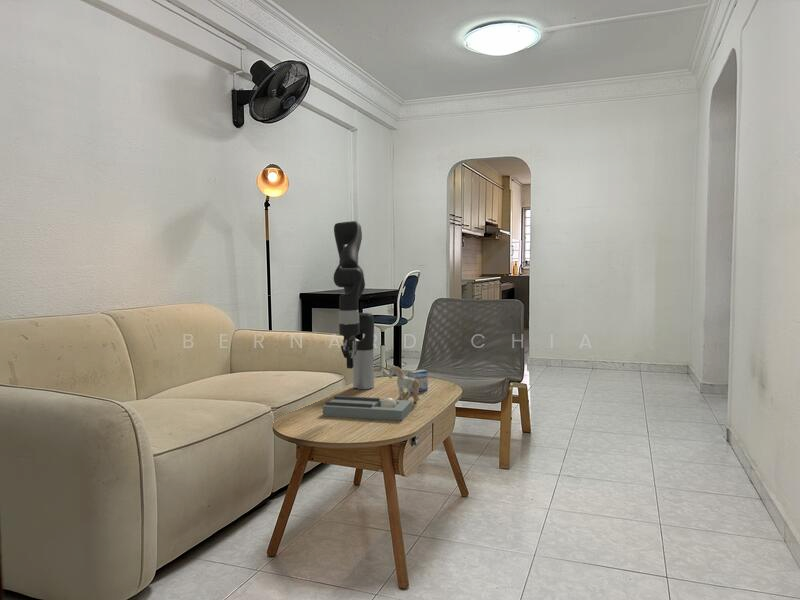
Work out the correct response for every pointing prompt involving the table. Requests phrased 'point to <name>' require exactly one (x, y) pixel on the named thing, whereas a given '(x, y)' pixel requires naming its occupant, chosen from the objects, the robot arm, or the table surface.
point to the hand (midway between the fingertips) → (350, 368)
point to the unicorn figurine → (404, 383)
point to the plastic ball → (388, 403)
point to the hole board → (365, 408)
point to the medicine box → (420, 378)
